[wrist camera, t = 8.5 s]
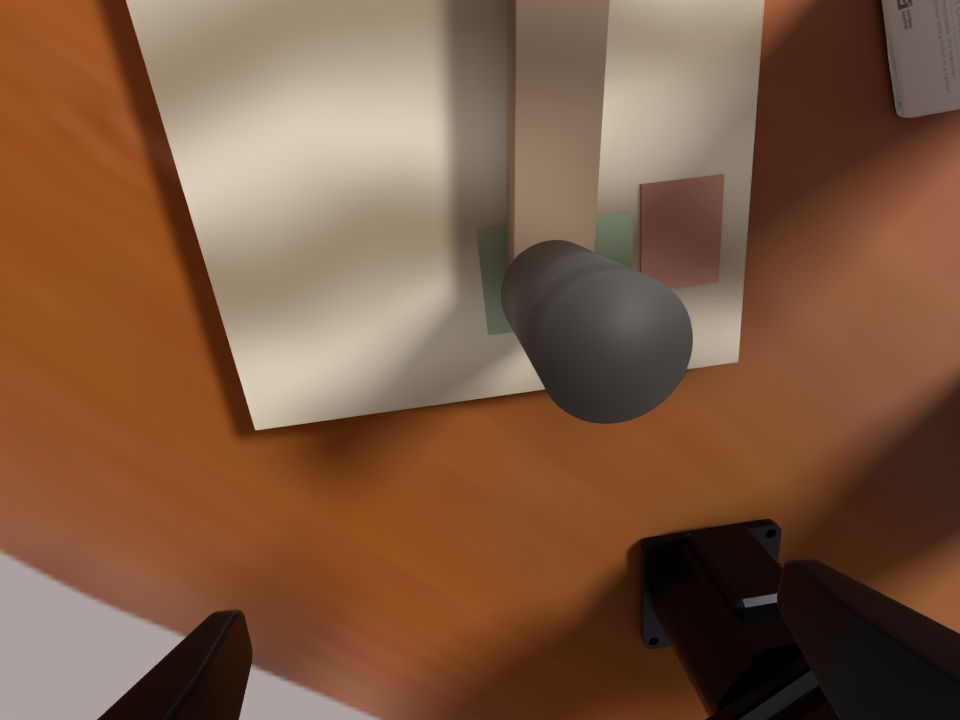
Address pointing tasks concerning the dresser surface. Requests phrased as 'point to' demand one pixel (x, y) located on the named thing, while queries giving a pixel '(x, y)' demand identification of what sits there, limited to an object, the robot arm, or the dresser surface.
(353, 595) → the dresser surface
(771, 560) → the robot arm
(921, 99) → the skincare box
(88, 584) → the dresser surface
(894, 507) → the dresser surface
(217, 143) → the board
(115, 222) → the dresser surface
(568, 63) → the lever
